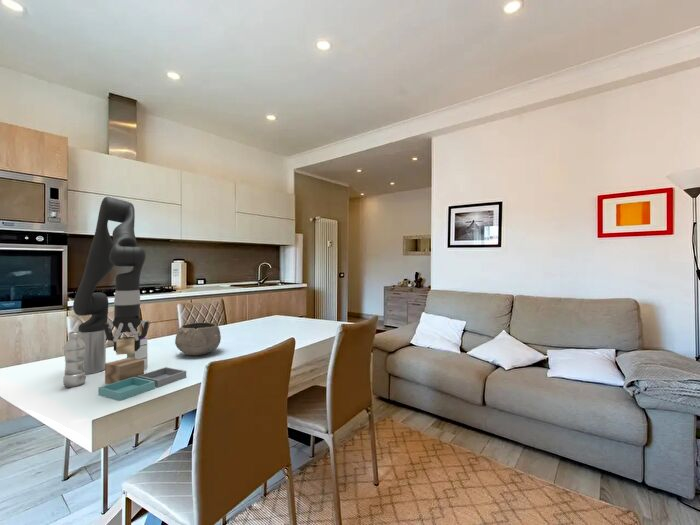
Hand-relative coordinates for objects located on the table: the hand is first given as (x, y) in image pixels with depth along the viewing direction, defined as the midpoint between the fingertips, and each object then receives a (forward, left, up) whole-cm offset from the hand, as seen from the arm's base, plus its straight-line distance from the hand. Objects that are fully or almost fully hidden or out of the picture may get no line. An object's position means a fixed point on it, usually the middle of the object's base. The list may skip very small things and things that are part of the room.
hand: (127, 351), depth 116 cm
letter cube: (0, 0, 0) cm, 0 cm away
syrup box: (-23, +18, -15) cm, 33 cm away
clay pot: (-20, +47, -15) cm, 53 cm away
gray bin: (0, +13, -15) cm, 20 cm away
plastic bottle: (-25, -4, -15) cm, 29 cm away
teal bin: (0, 0, -15) cm, 15 cm away
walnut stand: (-11, +6, -15) cm, 20 cm away
